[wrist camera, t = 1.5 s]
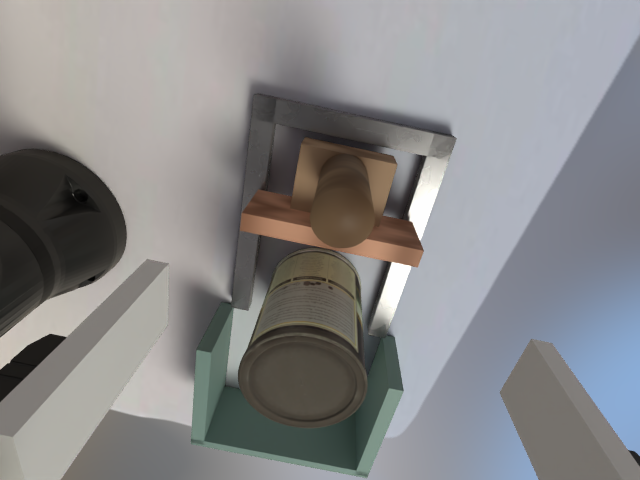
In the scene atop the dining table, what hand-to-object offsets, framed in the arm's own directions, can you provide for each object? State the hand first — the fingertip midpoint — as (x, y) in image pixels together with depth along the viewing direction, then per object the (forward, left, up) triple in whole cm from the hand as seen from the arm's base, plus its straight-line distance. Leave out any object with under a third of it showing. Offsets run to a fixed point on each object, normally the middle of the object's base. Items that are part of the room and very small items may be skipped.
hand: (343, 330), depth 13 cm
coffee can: (0, -14, -25) cm, 29 cm away
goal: (0, -26, -24) cm, 36 cm away
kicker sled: (0, -2, -22) cm, 22 cm away
